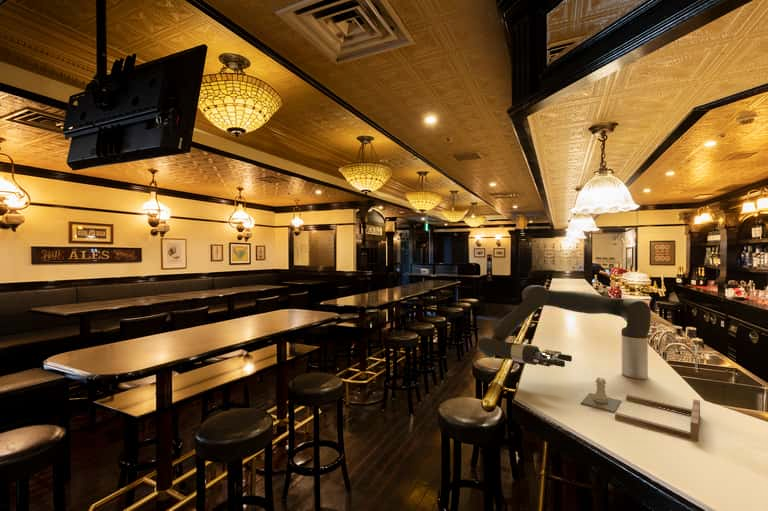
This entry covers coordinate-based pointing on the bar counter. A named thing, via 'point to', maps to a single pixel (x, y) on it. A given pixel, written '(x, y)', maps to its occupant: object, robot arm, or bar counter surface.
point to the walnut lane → (667, 429)
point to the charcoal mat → (609, 406)
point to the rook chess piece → (601, 391)
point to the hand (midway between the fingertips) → (568, 361)
